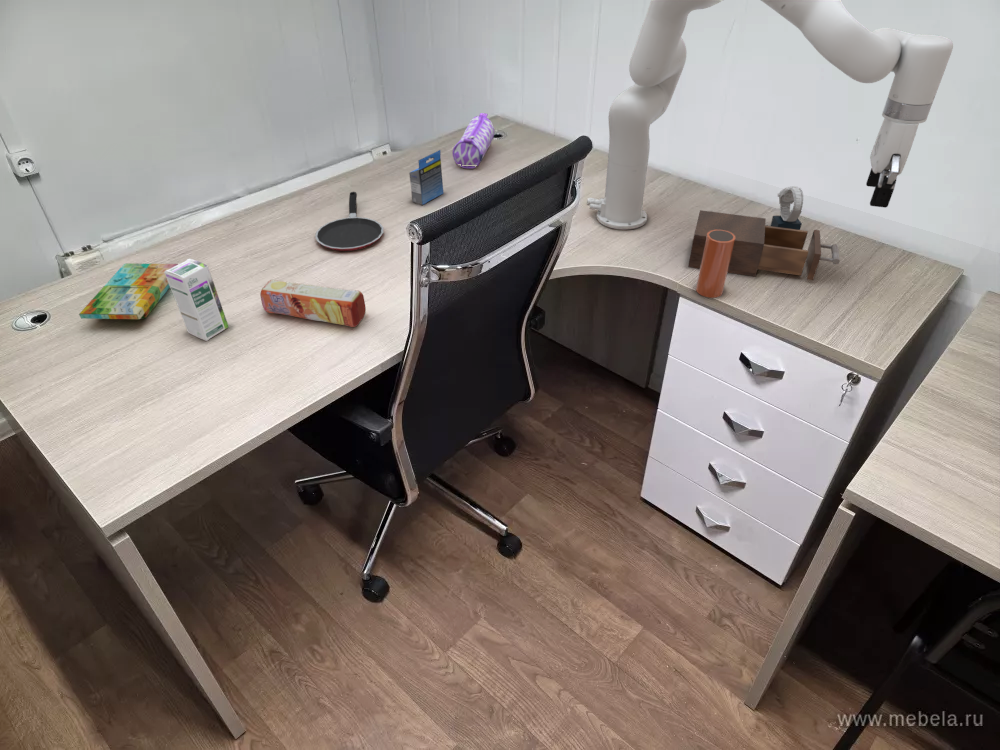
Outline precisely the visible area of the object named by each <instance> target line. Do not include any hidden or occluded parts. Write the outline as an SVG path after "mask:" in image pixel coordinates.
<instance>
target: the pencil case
mask: <svg viewBox="0 0 1000 750" xmlns="http://www.w3.org/2000/svg"><path fill="white" fill-rule="evenodd" d="M494 137H495V127H494V124H493V122H492V120H490V118H488V113H484V112H480V113H479V115H476V116H474V117H473V118H471V119H470V121H469V123H468V124H467V127H466V128H465V130H464V133H463V135H462V136H461V138H460V139H459V141H457V142H456V143H455V145H454V146H453V148H452V158H453V160H454V162H455V164H456V165H457V164H461V166H459V165H457V166H458V167H460V168H463V169H465V170H466V169H468V170H473V169H476V168H477V167H478V166H479V165H480V164H481V163H482V161H483V159H484V157H485V155H486V153H487V151H488V150H489V148H490V146H491V144H492V142H493V139H494ZM462 165H477V167H475V166H462Z"/></svg>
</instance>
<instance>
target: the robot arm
mask: <svg viewBox="0 0 1000 750" xmlns="http://www.w3.org/2000/svg"><path fill="white" fill-rule="evenodd" d="M723 1H724V0H650V2H649V5H648V8H647V11H646V14H645V17H644V20H643V22H642V25H641V27H640V31H639V34H638V37H637V39H636V42H635V46H634V49H633V51H632V54H631V56H630V60H629V67H628V70H629V76H630V78H631V80H632V81H633V83H634V84H633V85H632V86H630V87H628V88H626V89H625V90H623V91H622V92H620V93H619V94H618V95H617V96H616V97H615V98H614V100H613V101H612V103H611V105H610V107H609V110H608V133H609V136H608V137H609V139H608V141H609V142H608V155H607V166H606V167H607V168H606V178H605V189H604V197H600V198H594V197H587V201H586V206H589V209H590V210H597V212H596V219H597V221H598V223H600V224H601V225H603V226H604V227H607V228H610V229H615V230H624V231H625V230H634V229H639V228H640V227H642V226H644V225H645V224H646V223H647V221H648V214H647V212H646V211H645V210H644V209H643V204H644V195H645V189H646V182H647V175H648V174H647V172H648V167H649V157H650V147H651V146H650V141H651V139H650V127H651V125H652V124H653V123H654V122H655V121H657V120H658V119H659V118H661V117H662V116H663V115H664V114H665V113H666V111H667V109H668V107H669V105H670V103H671V100H672V98H673V96H674V93H675V91H676V88H677V85H678V84H679V83H678V82H679V80H680V77H681V75H682V73H683V70H684V68H685V64H686V60H687V45H686V43H685V40H684V39H683V38H682V36H683V33H684V31H685V28H686V25H687V22H688V21H687V20H688V16H689V14H691V12H694V11H697V10H703V9H708V8H711V7H713V6H715V5H718V4H719V3H721V2H723ZM760 1H761V2H762V3H764V4H765V5H766V6H768V7H769V8H771V10H773V11H775V12H776V13H777V14H779V16H781V17H783V18H784V19H785V20H786V21H788V22H789V23H790V24H792V25H793V26H794V27H796V28H797V29H798V30H799V31H800V32H801V34H802V35H803V37H804V38H805V39H806V40H807V41H808V42H809V43H810V44H811V45H812V46H813V48H814V49H815V50H816V51H817V52H818V53H819V55H821V56H822V57H823V58H824V59H825V60H826V61H827V62H829V64H831V65H832V66H834V67H835V68H837V69H838V70H839V71H840V72H842V73H843V74H845V75H846V76H847V77H849V78H850V79H852V80H853V81H856V82H859V83H862V84H874V83H877V82H880V81H881V80H883V79H885V78H886V77H887V76H888V75H889V74H890V73H894V77H893V80H892V83H891V86H890V89H889V92H888V94H887V98H886V101H885V105H884V107H883V110H882V113H881V117H883V120H882V123H881V125H880V129H879V131H878V134H877V137H876V138H875V142H874V143H873V147H872V150H871V152H870V155H869V162H870V166H871V167H870V171H869V174H868V177H867V180H866V184H865V185H866V186H867V187H872V188H874V190H873V193H872V196H871V199H870V202H869V205H870V206H871V207H877V208H886V209H887V208H888V207H889V204H890V201H891V199H892V196H893V194H894V190H895V187H896V183H897V178H898V176H900V175H902V173H903V171H904V169H905V166H906V164H907V161H908V158H909V155H910V152H911V149H912V146H913V143H914V141H915V137H916V135H917V131H918V128H919V124H923V123H926V122H927V119H928V117H929V114H930V112H931V108H932V107H933V103H934V100H935V98H936V95H937V92H938V90H939V87H940V85H941V82H942V79H943V76H944V75H945V74H944V73H945V72H946V69H947V66H948V63H949V60H950V58H951V56H952V53H953V49H954V43H953V41H952V40H951V38H949V37H946V36H943V35H938V34H930V33H924V34H921V33H920V34H917V33H912V32H908V31H904V30H901V29H897V28H893V27H880V28H876V29H874V30H870V29H868V28H867V27H866V26H865V25H863V24H862V23H861V22H860V21H858V20H857V19H856V18H855V17H854V16H853V15H852V14H851V13H850V12H849V10H847V8H846V7H845V5H844V3H843V1H842V0H760Z"/></svg>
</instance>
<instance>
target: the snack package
mask: <svg viewBox="0 0 1000 750" xmlns="http://www.w3.org/2000/svg"><path fill="white" fill-rule="evenodd" d="M259 294H260V302H261V306H262V308H263V310H264V311H265V312H267V314H268V313H269V314H277V315H283V316H291V317H294V318H300V319H305V320H311V321H315V322H324V323H329V324H336V325H340V326H341V325H342V326H346V327H350V328H356V327H357V326H358V325H360V323H361V321H362V320H363V319H364V317H365V316H366V312H367V311H366V301H365V296H364V294H363V292H362V291H361V290H356V289H355V290H354V289H344V288H338V287H330V286H322V285H314V284H306V283H299V282H291V281H283V280H279V279H270V280H269V281H267V282H266V283H265V285H264V286H262V288H261V290H260V293H259Z"/></svg>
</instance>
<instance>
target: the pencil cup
mask: <svg viewBox="0 0 1000 750" xmlns="http://www.w3.org/2000/svg"><path fill="white" fill-rule="evenodd" d="M734 242H735V235H734V234H733V233H731V232H729V231H726V230H711V231H709V232H708V233H707V236H706V241H705V246H704V251H703V256H702V261H701V266H700V269H699V272H698V277H697V282H696V286H695V291H696V293H697V294H699V296H702V297H705V298H709V299H711V298H712V299H713V298H714V299H715V298H719V297H721V296H722V295H723V294H724V290H725V287H726V286H725V285H726V281H727V277H728V274H729V273H728V268H729V264H730V260H731V255H732V251H733V247H734Z"/></svg>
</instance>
